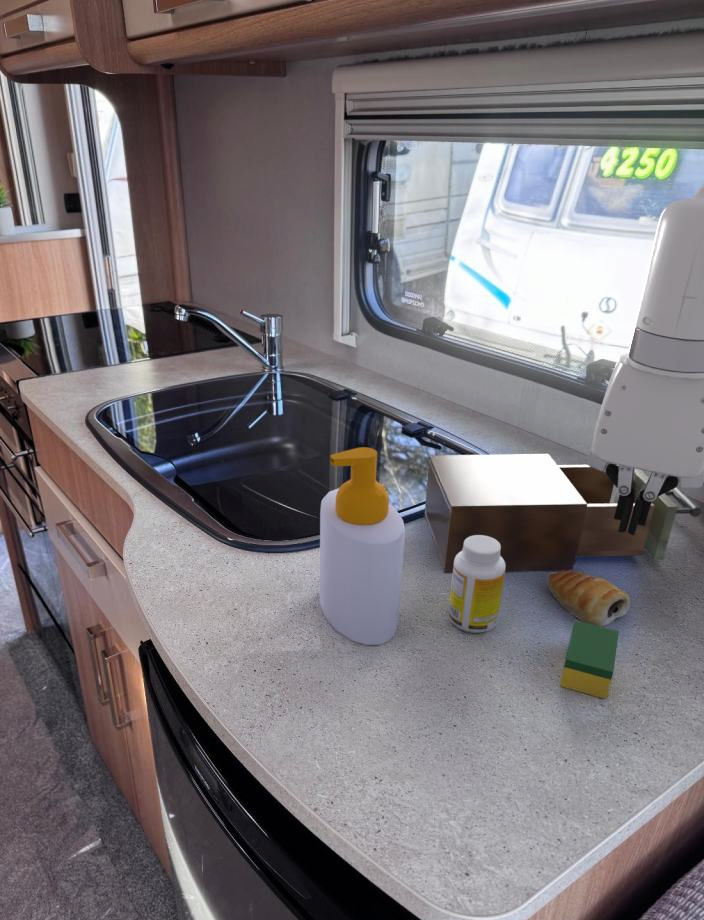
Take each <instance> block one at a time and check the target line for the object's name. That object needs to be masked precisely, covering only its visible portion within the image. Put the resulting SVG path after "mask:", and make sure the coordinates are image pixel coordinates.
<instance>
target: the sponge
mask: <svg viewBox="0 0 704 920" xmlns="http://www.w3.org/2000/svg"><path fill="white" fill-rule="evenodd" d="M619 636H620V631H619V630H615V629H611V628H607V627H605V626H604V627H600V626H596V625H592V624H588V623H584V622H582V621H580V620H574V623H573V626H572V630H571V635H570V640H569V642H568V643H569V644H568V648H567V652H566V656H565V661H564V665H563V669H562V673H561V679H560V683H559V686H560V687H562V688H565V689H569V690H573V691H576V692H580V693H582V694H583V693H584V694H587V695H590V696H594V697H597V698H601V699H604V700H606V699H607V698H608V695H609V690H610V686H611V682H612V679H613V676H614V672H615V666H616V665H615V664H616V656H617V651H618V643H619Z"/></svg>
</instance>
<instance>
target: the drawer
mask: <svg viewBox="0 0 704 920" xmlns="http://www.w3.org/2000/svg"><path fill="white" fill-rule="evenodd" d="M557 465H558V467H559V468H560V469H561V471H562V472H563V473H564V474H565V476H566V477H567V478H568V480H569V481H570V482H571V484H572V485H573V486H574V487H575V489H576V490H577V491H578V493H579V494H580V495H581V496H582V498H583V499H584V500H585V502H586V503H587V509H586V513H585V518H584V523H583V527H582V532H581V537H580V541H579V546H578V551H577V555H576V558H578V557H616V556H617V557H622V556H623V557H624V556H626V557H627V556H642V555H643V552H644V550H645V552H647V554H648V555H649V556H650V557H651V559H652V560H653V561H663V560H664V557H665V554H666V551H667V547H668V544H669V543H668V542H669V540H670V536H671V533H672V529H673V525H674V521H675V518H676V515H677V514H678V515H679V514H689V515H690V516H691V517H695V518H696V517H700V515H701V514H702V508H701V507H700V506H699V505H698V504H697V503H696V502H695V501H694V500H693V499H691V498H690V496H688V495H687V494H686V492H684V491H683V490H682V488H674V489H672V490H670V491H668V492H666V493H664V494H662V495H660V496H658V497H656V499H655V500H654V501H652V502H651V506H650V510H649V513H648V517H647V521H646V524H645V526H642V525H637V528H636V532H635V535H630V534H629V533H627V532H628V528H629V524H630V521H631V517H632V513H633V509H634V505H635V502H636V498H637V495H638V491H639V490H641V488H642V486H643V485H644V484H646V483H647V481H648V479H649V477H650V476H648V475H647V474H646V473H645V472H644V470H640V469H635V474H634V482H635V483H636V488H635V489H637V493H636V496H635V500H634V504H633V508H632V512H631V515H630V519H629V523H628V526H627V529H626V532H623V533H621V532H618V529H619V525H620V520H616V519H614V516H615V512H616V508H617V504H618V500H619V496H620V494H619V493H618V490H617V489H616V491H615V494H614V495H615V496H614V501H613V502H611V499H612V495H613V489H614V486H615V485H614V483H613V482H612V480H611V479H610V478H609V476H608V475H607V474H606V473H605V472H601V471H599V470H597V469H595V468H592V467H590V466H588V465H587V464H557ZM669 496H671V497H672V498H673V499H674V500H675V501H676V502H677V503H678V504H679V505H680V506H681V507H679V506H678V505H677V504H676V503H675V502H674V501H673V500H672V499H671V498H670V497H669Z"/></svg>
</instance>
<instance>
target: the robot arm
mask: <svg viewBox="0 0 704 920" xmlns="http://www.w3.org/2000/svg"><path fill="white" fill-rule="evenodd" d="M646 270H647V271H646V274H645V279H644V283H643V287H642V292H641V296H640V299H639V300H640V301H639V304H638V308H637V313H636V318H635V322H634V326H633V330H632V334H631V338H630V342H629V348H628V351H627V352H626V353H622V354H620V355H619V357H618V359H617V361H616V363H615V365H614V368H613V370H612V373H611V375H610V377H609V381H608V384H607V387H606V390H605V393H604V396H603V399H602V403H601V406H600V410H599V413H598V417H597V420H596V424H595V427H594V432H593V437H592V443H591V448H590V450H589V452H588V454H587V455H586V458H585V461H584V463H585V465H588V466H590V467H592V468H595V469H597V470H599V471H601V472H605V473H606V474H607V475H608V476H609V478H610V479H611V480H612V482H613V483H614V486H615V487H616V491H617V490H618V493H619V494H620V496H619V500H618V504H617V508H616V512H615V516H614V519H616V520H620V525H619V529H618V532H621V533H623V532H626V529H627V526H628V523H629V519H630V515H631V512H632V508H633V504H634V500H635V496H636V493H637V489H635V488H636V483H635V482H634V474H635V469H640V470H642V471H645V472H648V473H649V472H650V475H649V476H648V477H649V479H648V481H647V483H646V484H644V485H643V486H642V488H641V490H639V491H638V495H637V498H636V502H635V505H634V509H633V513H632V517H631V521H630V524H629V528H628V532H627V533H629V534H630V535H635V532H636V528H637V525H642V526H645V524H646V521H647V517H648V513H649V510H650V506H651V502H652V501H654V500H655V499H656V497H658V496H660V495H662V494H664V493H666V492H668V491H670V490H672V489H674V488H680V489H700V488H702V487H703V486H704V184H702V185H701V186H700V188H698V189H697V190H696V192H695V193H694V194H693V196H692V197H690V198H683V199H678V200H675V201H672V202H671V203H669V204H668V205H667V206H666V207H665V208H664V209H663V211H662V212H661V214H660V216H659V220H658V222H657V226H656V231H655V236H654V240H653V244H652V249H651V253H650V258H649V262H648V266H647V269H646Z"/></svg>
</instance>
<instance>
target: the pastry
mask: <svg viewBox="0 0 704 920" xmlns="http://www.w3.org/2000/svg"><path fill="white" fill-rule="evenodd" d="M547 588H548V589H549V591H550V593H551V595H553V596H554V599H555V600H557V601H558V602H559V604H560V606H561V607H562V608H563V609H565V610H566V612H568V613H569V614H571V615H572V616H573V617H574V618H575V617H576V618H577V619H579V621H580V622H584V623H588V624H592V625H596V626H600V627H604V628H605V627H606V626H608V625H610V624H611V623H612V622H614V620H616V619H617V618H621V617H623V616H624V615H626V614H627V613H628V611H629V610H630V604H631V600H630V596H629V595H628V593H627V592H626V591H625V590H623V589H622V590H620V589H619V587H617V586H616V585H615V584H614V583H612V582H609V581H608V580H606V579H605V578H603V577H601V576H600V577H596V576H595V577H594V576H592V575H589V574H585V573H584V572H581V571H576V570H575V571H574V570H559V571H556V572H550V573H549V574H548V576H547Z"/></svg>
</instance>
